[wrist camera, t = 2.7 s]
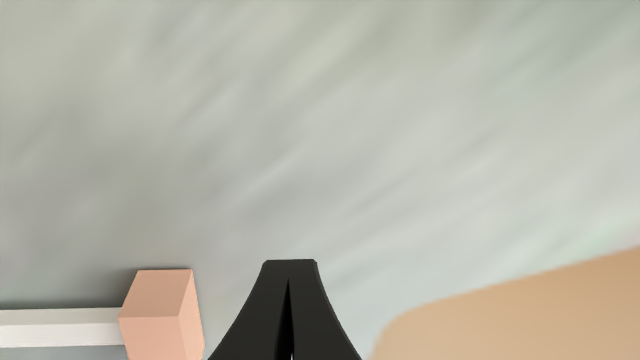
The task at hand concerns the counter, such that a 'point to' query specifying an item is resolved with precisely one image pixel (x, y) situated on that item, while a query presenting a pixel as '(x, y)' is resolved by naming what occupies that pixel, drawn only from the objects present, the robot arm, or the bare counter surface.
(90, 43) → the counter surface
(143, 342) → the peach and white mallet
